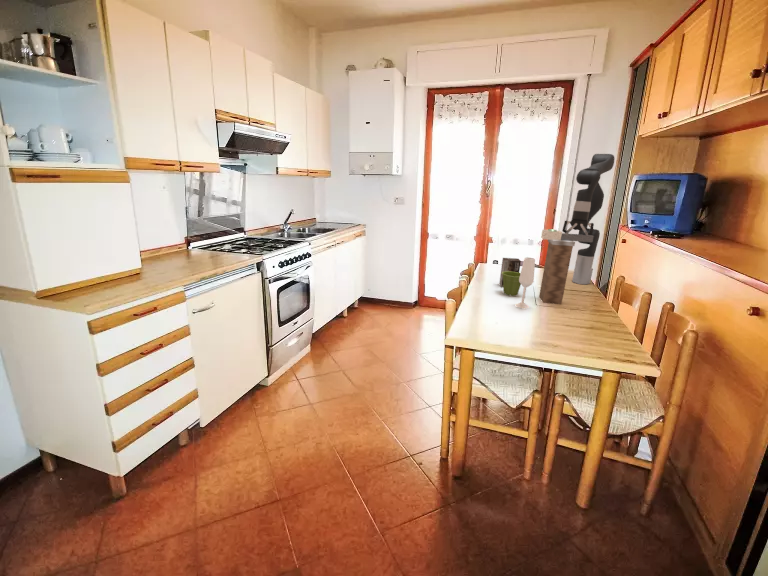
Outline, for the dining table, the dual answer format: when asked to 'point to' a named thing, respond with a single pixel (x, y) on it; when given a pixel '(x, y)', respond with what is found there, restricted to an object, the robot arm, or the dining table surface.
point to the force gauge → (565, 236)
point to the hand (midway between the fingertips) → (575, 241)
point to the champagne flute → (526, 278)
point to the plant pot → (511, 283)
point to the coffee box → (509, 267)
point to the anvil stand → (555, 271)
